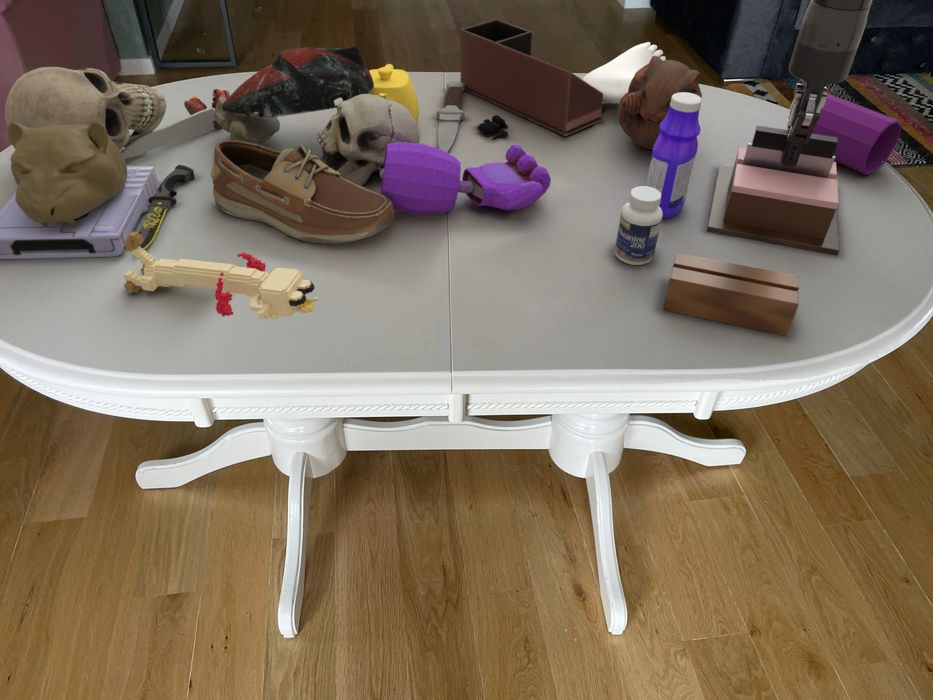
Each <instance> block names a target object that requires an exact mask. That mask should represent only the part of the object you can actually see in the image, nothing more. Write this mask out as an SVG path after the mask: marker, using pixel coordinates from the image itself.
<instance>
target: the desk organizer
mask: <svg viewBox="0 0 933 700" xmlns="http://www.w3.org/2000/svg"><path fill="white" fill-rule="evenodd" d="M459 35H460V43H459V44H460V82H461V83H463V84H465V90H464V91H465V92H467V93H469V94H471V95H472V96H473V95H474V96H475V97H477V98H480V99H482V100H484V101H487V102H489V103H490V104H493V105H495V106H498V107H500V108H502V109H505V110H507V111H508V112H511V113H513V114H515V115H517V116H519V117H522V118H523V119H526V120H528V121H531V122H533V123H535V124H537V125H539V126H541V127H543V128H545V129H547V130H549V131H552V132H555V133H557V134H559V135H560V136H562V137H564V138H565V137H567V136H569V135H572V134H573V133H577V132H579V131H581V130H583V129H586V128H589V127H590V126H593V125H596V124H597V123H600V122H602V121H604V120H605V118H604V117H602V108H603V104H602V100H603V93H602V92H600V91H599V90H597V89H596V88H594V87H593V86H591V85H589V84H588V83H586V82H585V81H583V80H582V79H583V78H581V77H579V76H578V75H576V74H574V73H573V72H572V71H569V70H567V69H564V68H562V67H559V66H557V65H554V64H551V63H550V62H546V61H545V60H541V59H539V58H536V57H533V56H532V55H531V54H532V38H533V32H532V31H531V30H528V29H526V28H523V27H520V26H517V25H515V24H512V23H509V22H506V21H504V20H502V19H500V18H493V19H489V20H487V21H485V22H481V23H477V24H474V25H470V26H467V27H464V28H461V29H460V32H459Z"/></svg>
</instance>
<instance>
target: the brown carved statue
mask: <svg viewBox="0 0 933 700" xmlns="http://www.w3.org/2000/svg"><path fill="white" fill-rule="evenodd" d="M660 57H661V56H659V57H658V56H653V57H652V58H651V60H650V62H649V64H647V65H645V66H644V67H642V68H641V69H639V70H638V71H637V72H636V73H635V75H634V77H633V79H632V80H631V82H630V85H629V89H628V93H626V94H625V95H624V96H623V97H622V98H621V99H620V102H619V104H617V108H618V109H617V119H618V122H619V125H620V127H621V129H622V131H623V132H624V133H625V134H626V136H627V137H628V138H629V139H630V140H631V141H633V143H635V144H636V145H637V146H639V147H641V148H645V149H649V150H653V148H654V145H655V142H656V140H657V138H658V136H659V134H660V132H661V131H660V127H659V126H660V123H661V122H662V121H663V120H664V118H665V117H666V115H667V113H668V110H669V107H670V102H671V98H672V95H674V94H676V93H681V92H687V93H692V94H695V95H698V96H699V97H700V98H701V99H702V97H703V93H702V91H701V90H702V89H701V87H700V84H699V76H700V72H699V71H698V70H696V69H690V68H689V66H688V65H686V64H684V63H683V62H680V61H678V60H672V59H666V60H664V61H662V59H661V58H660ZM702 100H703V99H702Z"/></svg>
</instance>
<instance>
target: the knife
mask: <svg viewBox="0 0 933 700" xmlns="http://www.w3.org/2000/svg"><path fill="white" fill-rule="evenodd" d="M195 178H196V177H195V173H194V169H193V168H191V167H189V166H187V165H183V164H177V165H176V166H175V168H174V170H172V171H171V172H170V173H169V174H168V175H166V176H165V178H164V179H163V181H162V182H161V184H159V188H158V193H156V194H154V196H152V197H150V198H149V200H148V202H149V203H150V205H149V209H148V211H147V214H146V216H145V218H144V221H143V222H142V225H141V227H140V230H139V231H138V232H139V234H141V235H142V237H143V239H144V241H143V243H142V244H141V245H140V247H141V248H143V249H144V250H146V249H147V248H148V247H149V246H150V245H151V244H152V243H153V242H154V240H155V238H156V236H157V233H158V231H159V229H160V226H161V225H162V222H163V220H164V217H165V215H166V212H167V210H169V209H170V207H173V206H175V205H176V204H177V203H178V201H177V199H176V198H174V197H176V196H177V195H178V192H177V191H176V190H174V189H175V188H174V187H176V185H177V184H179V183H185V182H187V181H189V180H193V181H194V180H195Z"/></svg>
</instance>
